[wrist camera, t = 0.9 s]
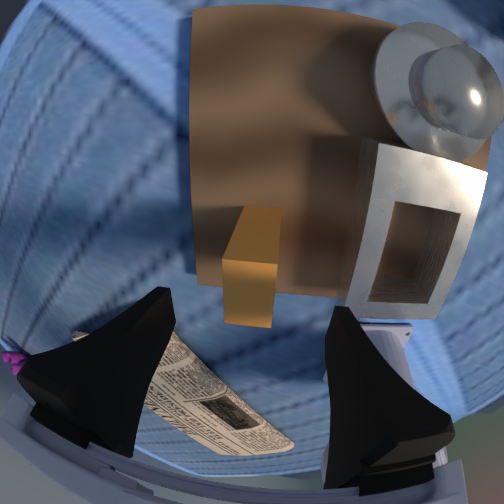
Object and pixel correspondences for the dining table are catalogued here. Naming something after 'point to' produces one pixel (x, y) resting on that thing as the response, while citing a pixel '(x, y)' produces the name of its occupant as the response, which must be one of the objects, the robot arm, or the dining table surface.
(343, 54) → the board
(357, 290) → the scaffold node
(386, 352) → the robot arm
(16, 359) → the purple coral
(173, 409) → the newspaper
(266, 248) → the tan rectangular prism
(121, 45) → the dining table surface
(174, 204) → the dining table surface
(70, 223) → the dining table surface
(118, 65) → the dining table surface
